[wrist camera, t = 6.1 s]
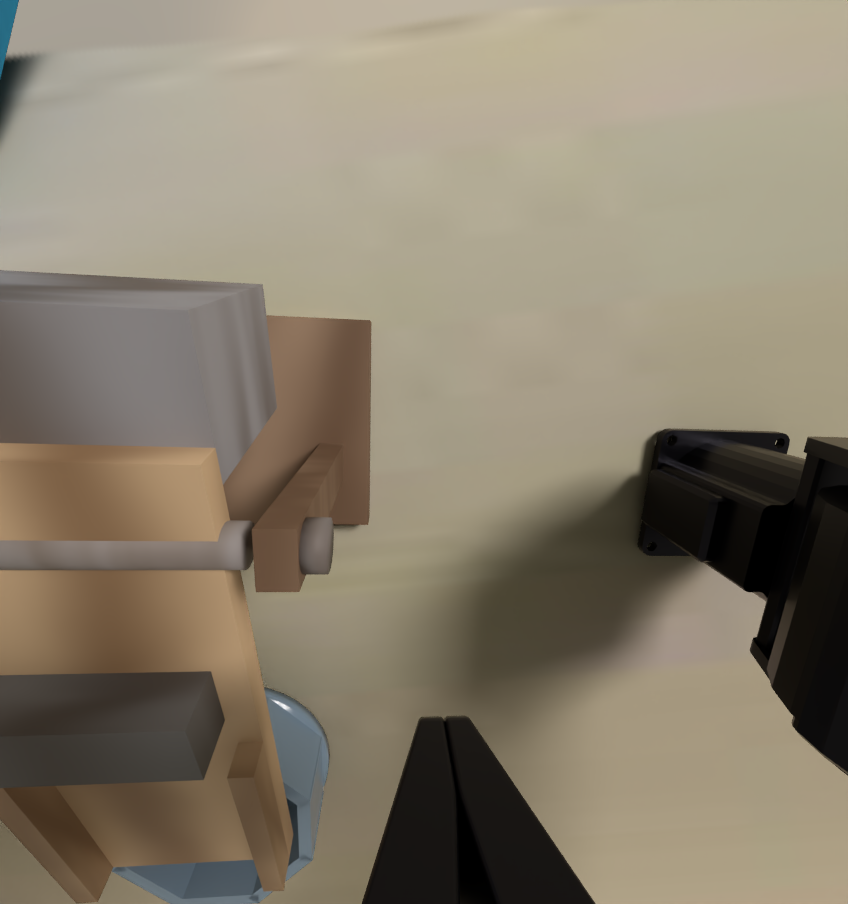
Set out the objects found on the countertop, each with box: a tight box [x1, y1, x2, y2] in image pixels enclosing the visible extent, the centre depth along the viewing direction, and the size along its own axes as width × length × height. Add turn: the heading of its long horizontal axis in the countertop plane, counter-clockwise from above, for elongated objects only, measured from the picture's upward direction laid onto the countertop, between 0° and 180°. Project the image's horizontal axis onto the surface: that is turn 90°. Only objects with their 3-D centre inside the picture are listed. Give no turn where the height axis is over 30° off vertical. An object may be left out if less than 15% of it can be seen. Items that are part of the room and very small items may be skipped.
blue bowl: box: [112, 688, 330, 904], centre depth 21 cm, size 10×10×4 cm
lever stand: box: [223, 316, 371, 592], centre depth 13 cm, size 14×9×10 cm, turn 88°
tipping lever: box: [0, 270, 293, 903], centre depth 14 cm, size 9×22×7 cm, turn 178°
